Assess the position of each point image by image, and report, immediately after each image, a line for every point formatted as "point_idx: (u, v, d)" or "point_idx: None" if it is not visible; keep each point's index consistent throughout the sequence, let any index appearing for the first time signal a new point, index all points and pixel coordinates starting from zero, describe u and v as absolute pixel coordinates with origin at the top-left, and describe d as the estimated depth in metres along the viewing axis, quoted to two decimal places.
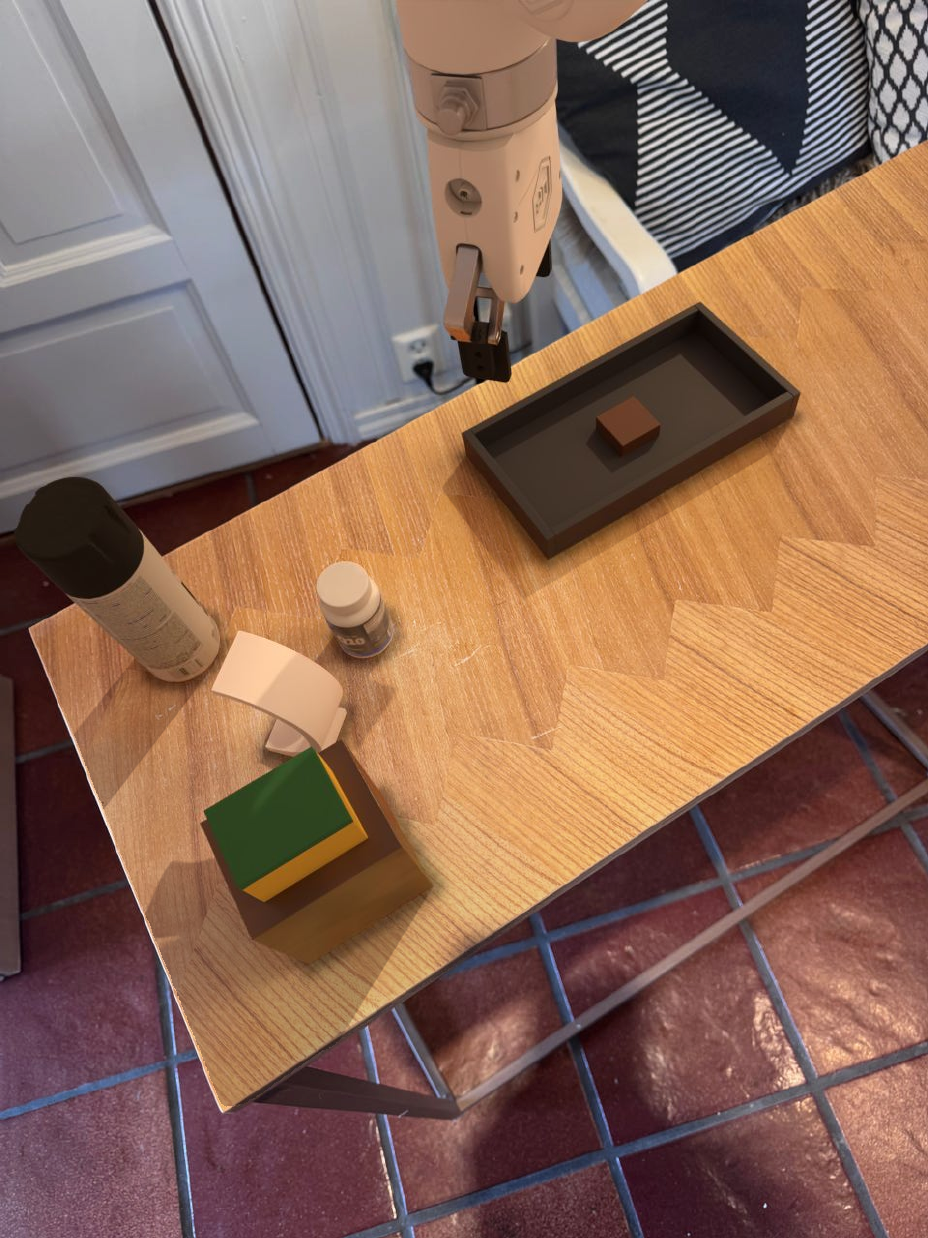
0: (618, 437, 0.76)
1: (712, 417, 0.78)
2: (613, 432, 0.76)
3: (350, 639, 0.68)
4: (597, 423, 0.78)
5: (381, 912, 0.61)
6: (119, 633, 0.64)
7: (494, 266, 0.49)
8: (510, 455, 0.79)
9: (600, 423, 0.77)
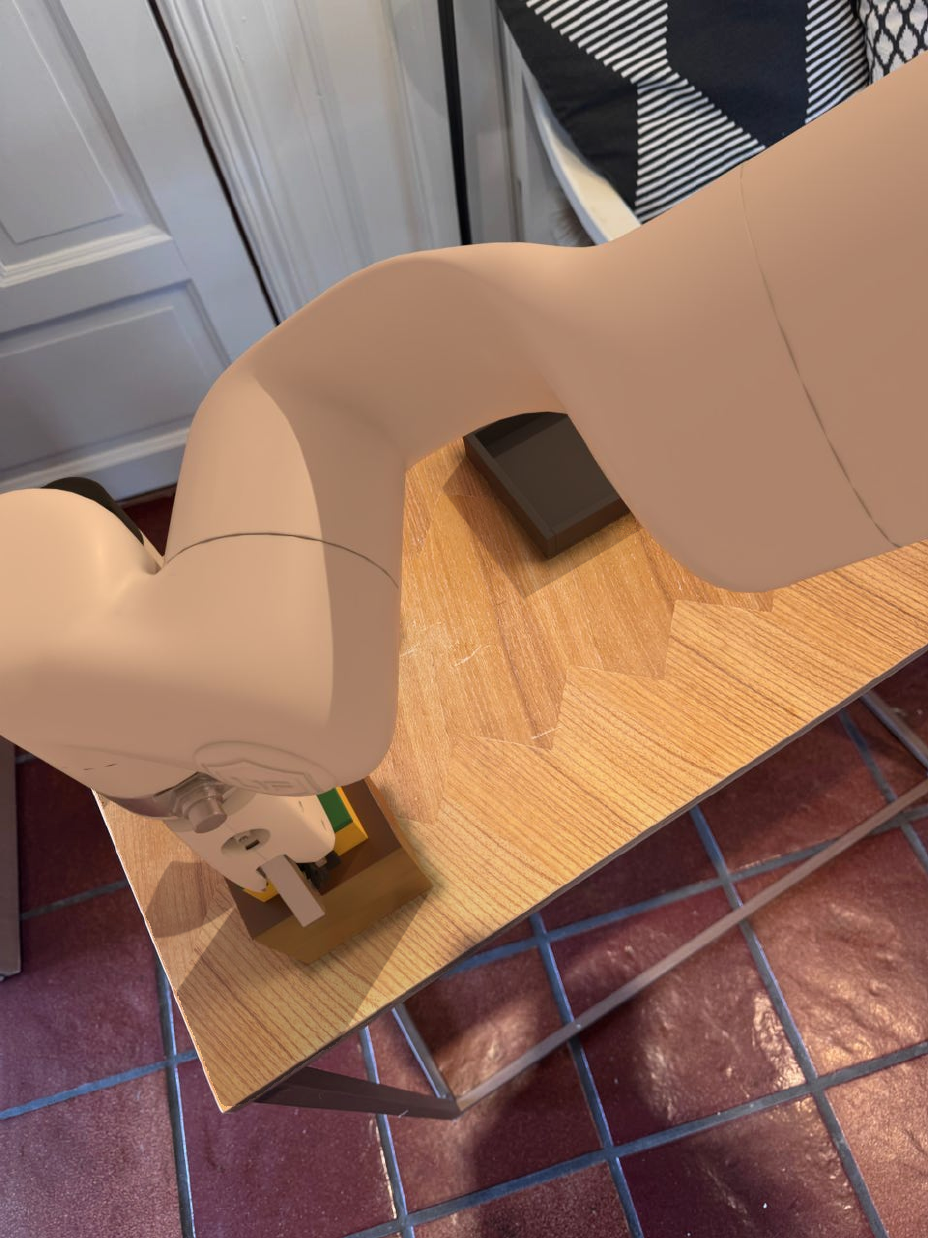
0: None
1: None
2: None
3: None
4: None
5: (381, 912, 0.61)
6: None
7: (304, 851, 0.41)
8: (510, 455, 0.79)
9: None
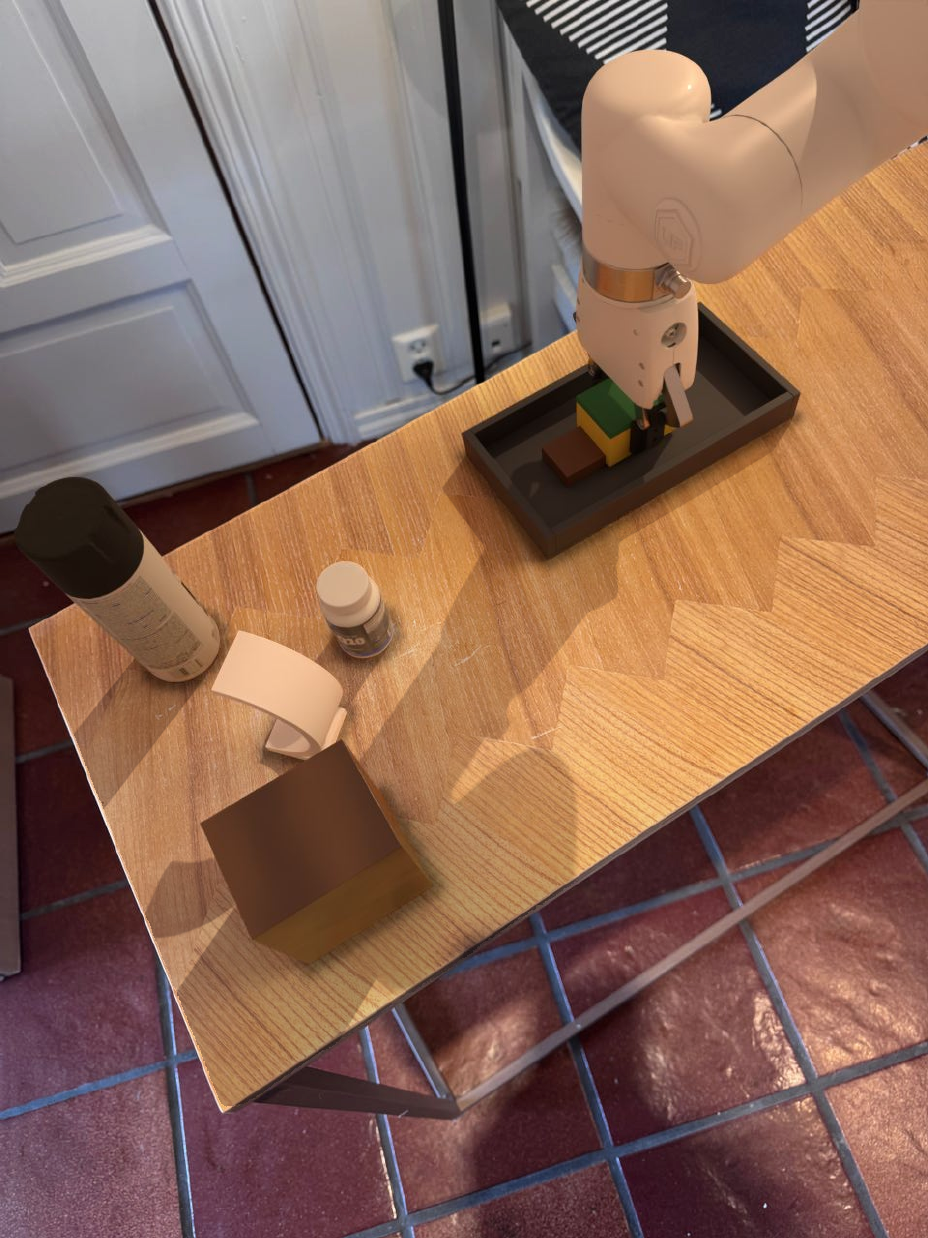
0: (562, 468, 0.75)
1: (712, 417, 0.78)
2: (558, 462, 0.76)
3: (350, 639, 0.68)
4: (543, 453, 0.77)
5: (381, 912, 0.61)
6: (119, 633, 0.64)
7: (687, 368, 0.66)
8: (510, 455, 0.79)
9: (545, 453, 0.77)
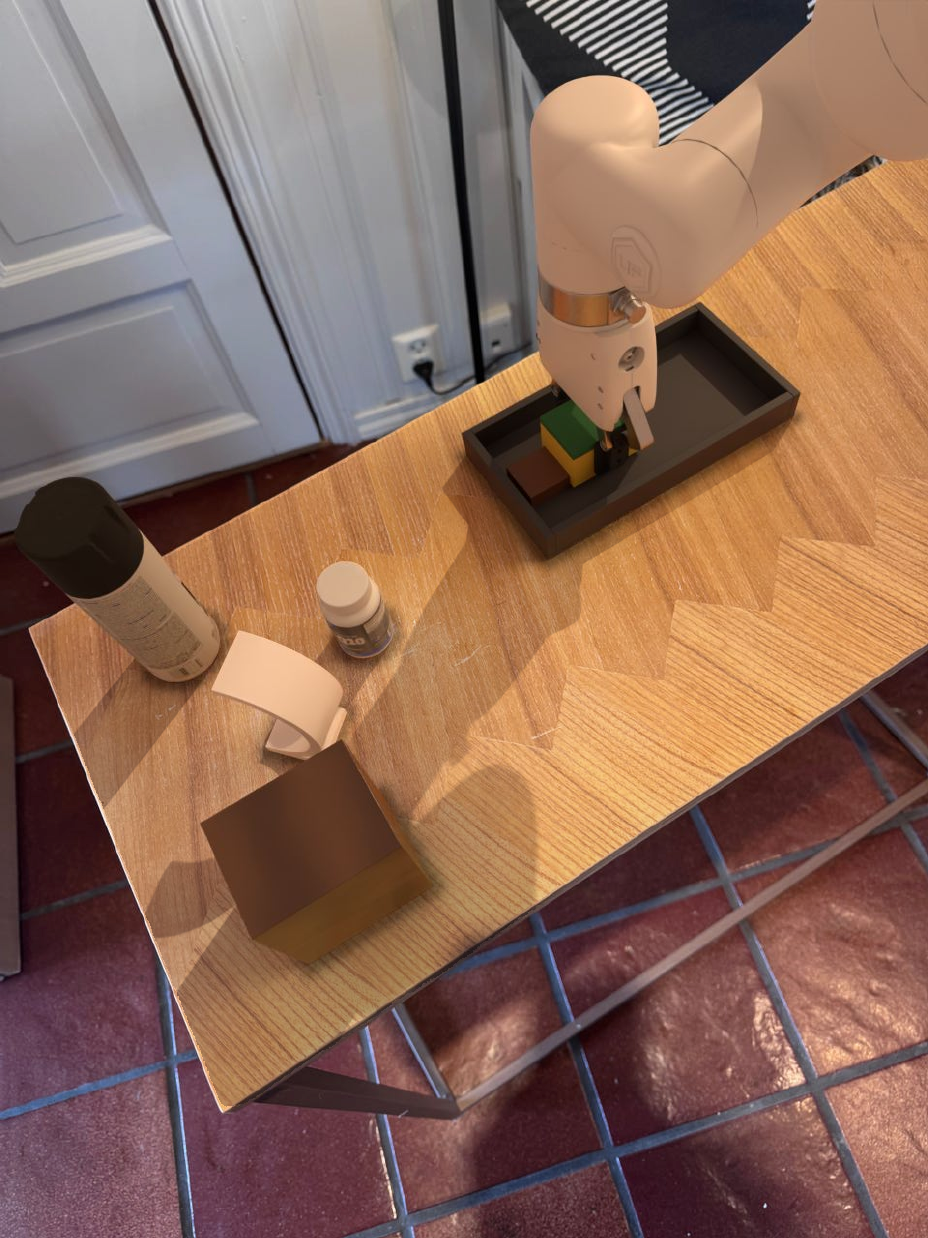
0: (526, 489, 0.75)
1: (712, 417, 0.78)
2: (522, 483, 0.75)
3: (350, 639, 0.68)
4: (507, 473, 0.77)
5: (381, 912, 0.61)
6: (119, 633, 0.64)
7: (647, 391, 0.66)
8: (510, 455, 0.79)
9: (510, 474, 0.76)
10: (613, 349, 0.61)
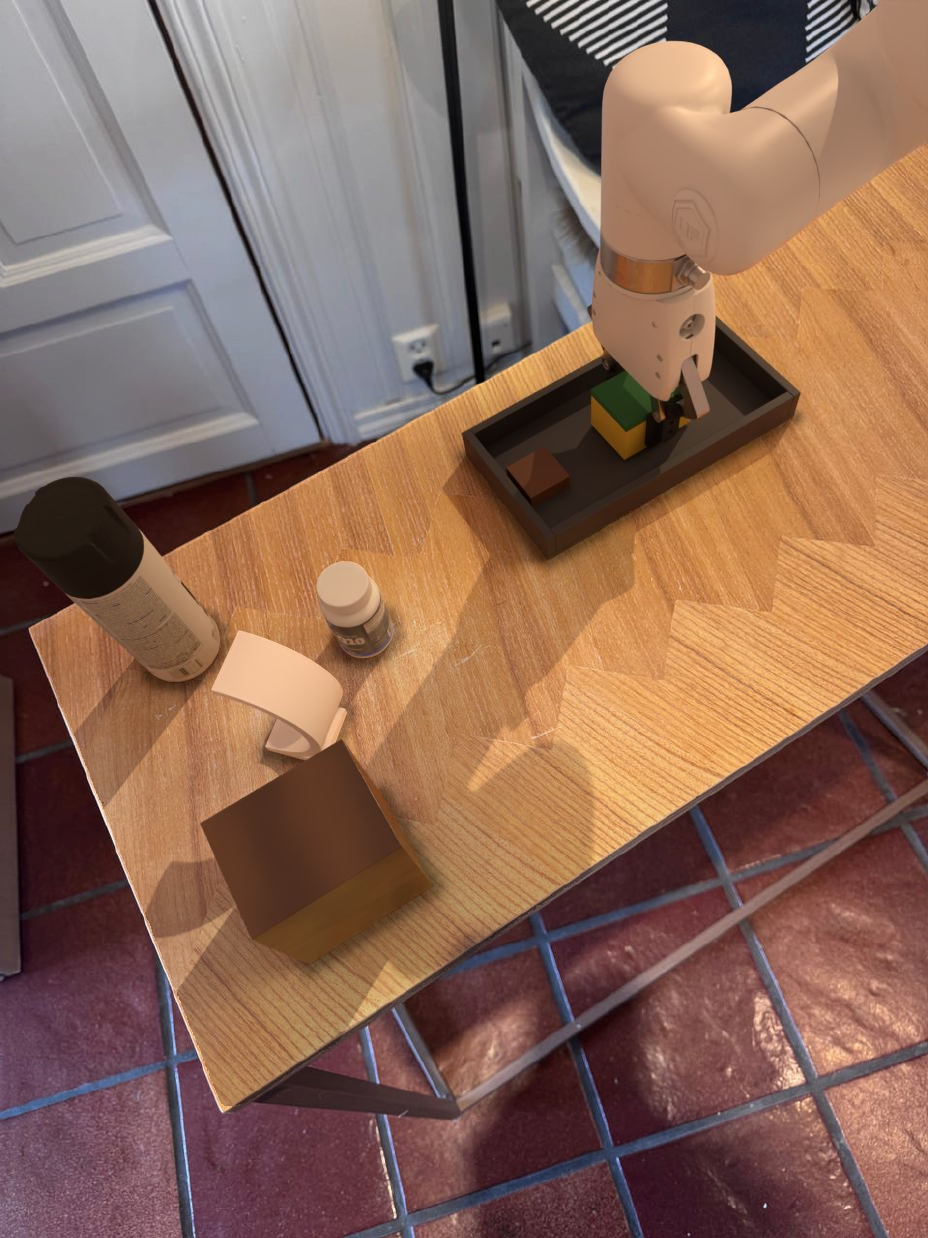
0: (526, 489, 0.75)
1: (712, 417, 0.78)
2: (522, 483, 0.75)
3: (350, 639, 0.68)
4: (507, 473, 0.77)
5: (381, 912, 0.61)
6: (119, 633, 0.64)
7: (704, 360, 0.66)
8: (510, 455, 0.79)
9: (510, 474, 0.76)
10: (675, 316, 0.62)
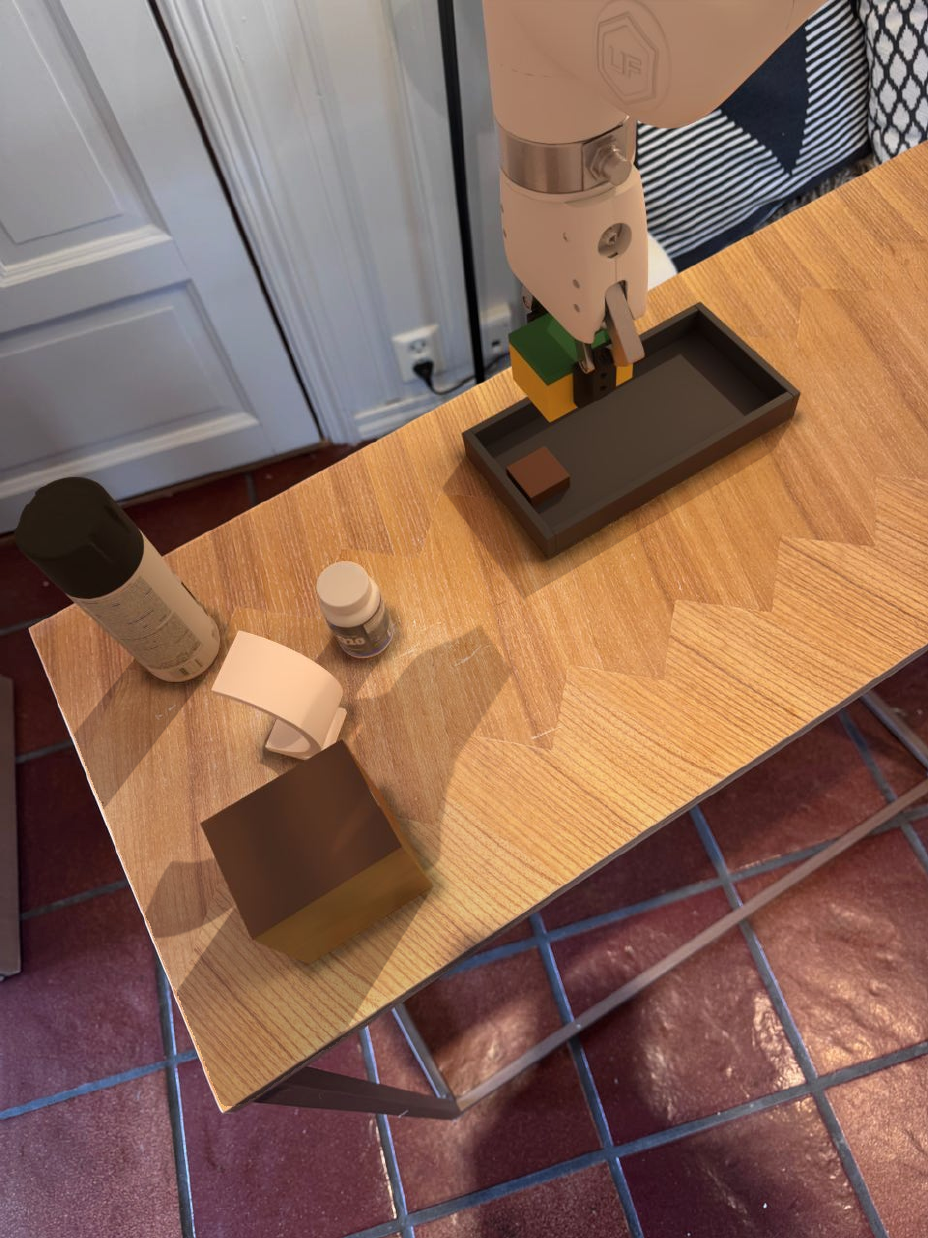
0: (526, 489, 0.75)
1: (712, 417, 0.78)
2: (522, 483, 0.75)
3: (350, 639, 0.68)
4: (507, 473, 0.77)
5: (381, 912, 0.61)
6: (119, 633, 0.64)
7: (636, 290, 0.52)
8: (510, 455, 0.79)
9: (510, 474, 0.76)
10: (590, 225, 0.47)
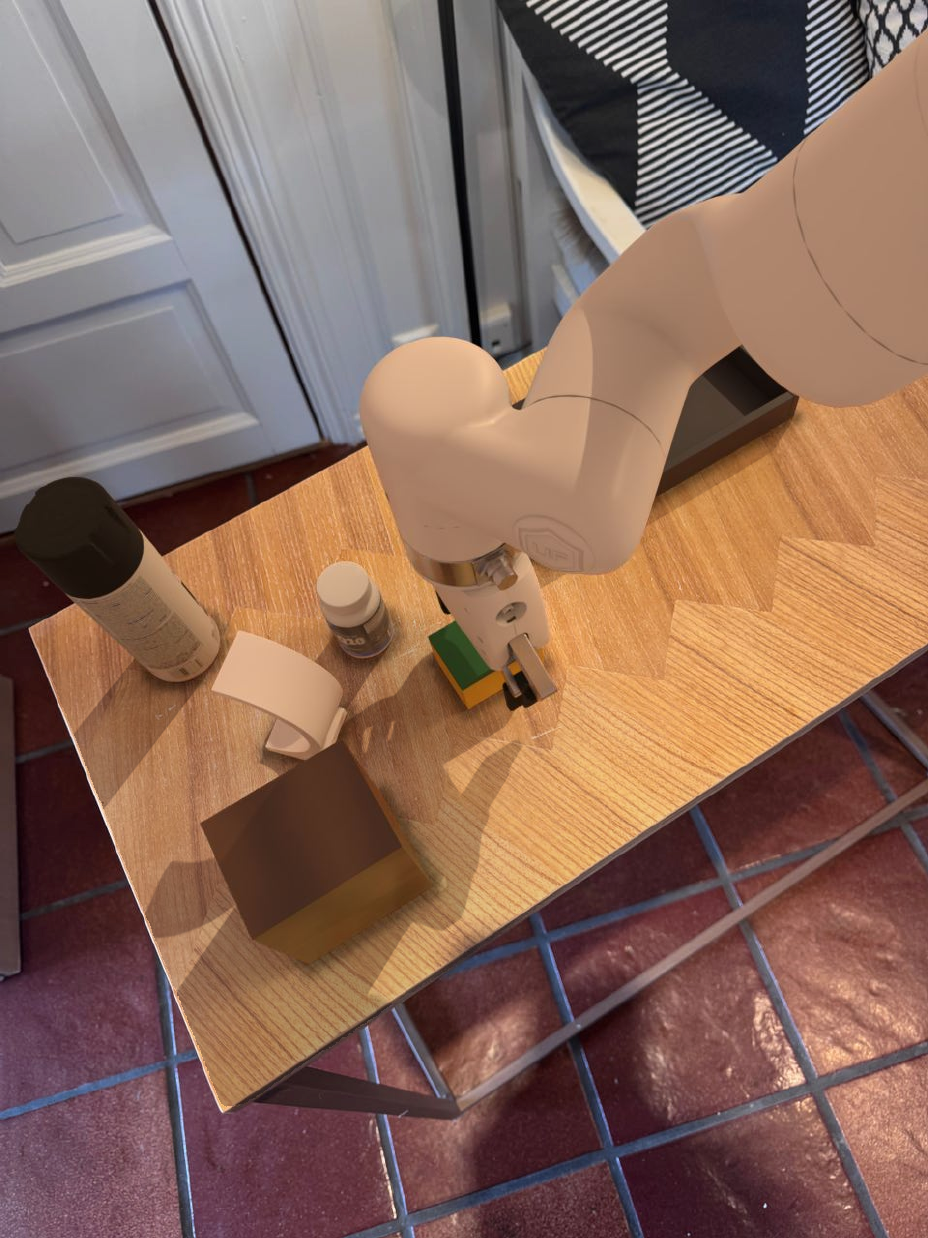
0: None
1: (712, 417, 0.78)
2: None
3: (350, 639, 0.68)
4: None
5: (381, 912, 0.61)
6: (119, 633, 0.64)
7: (537, 634, 0.57)
8: None
9: None
10: (487, 608, 0.53)
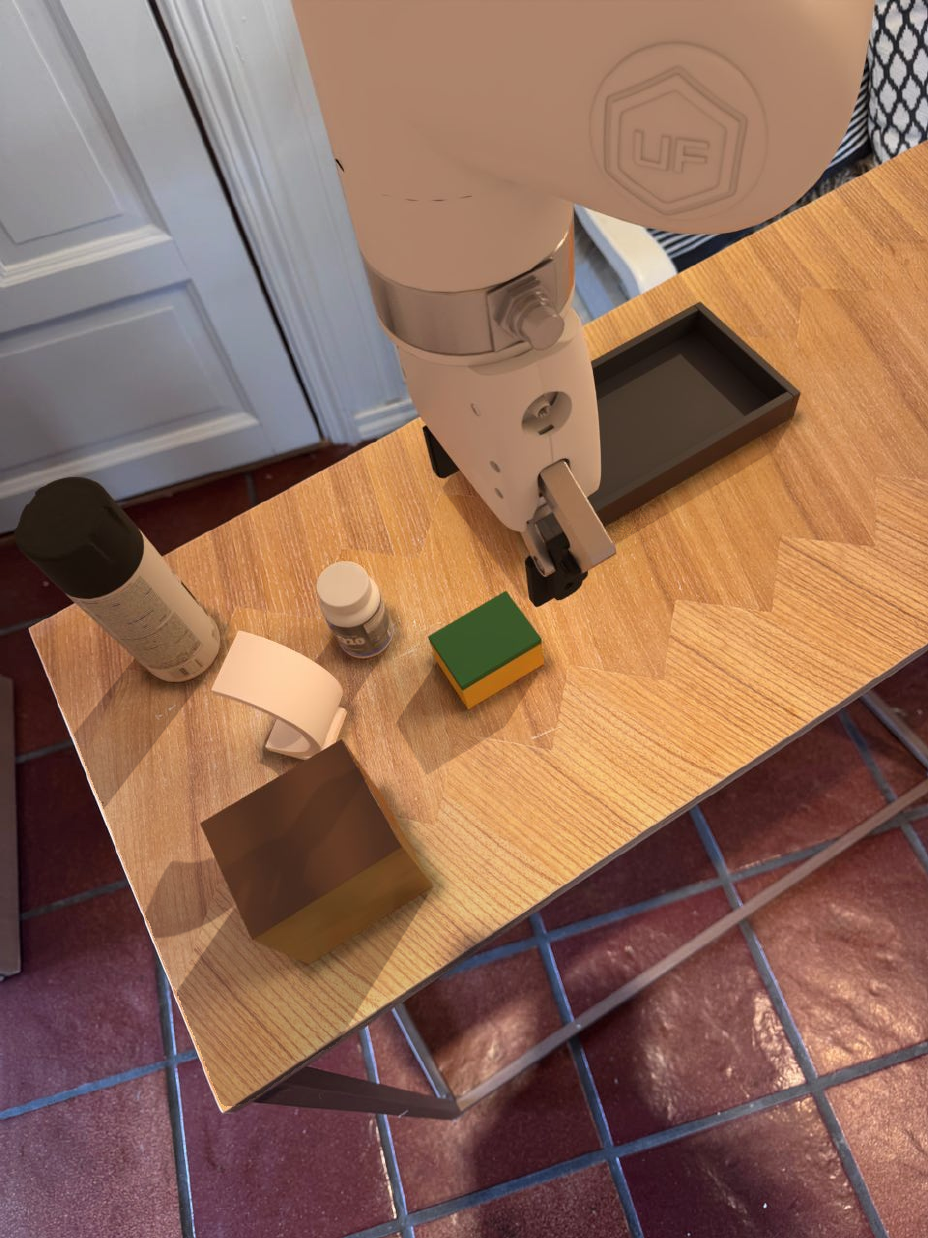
0: None
1: (712, 417, 0.78)
2: None
3: (350, 639, 0.68)
4: None
5: (381, 912, 0.61)
6: (119, 633, 0.64)
7: (583, 466, 0.37)
8: None
9: None
10: (508, 397, 0.32)
